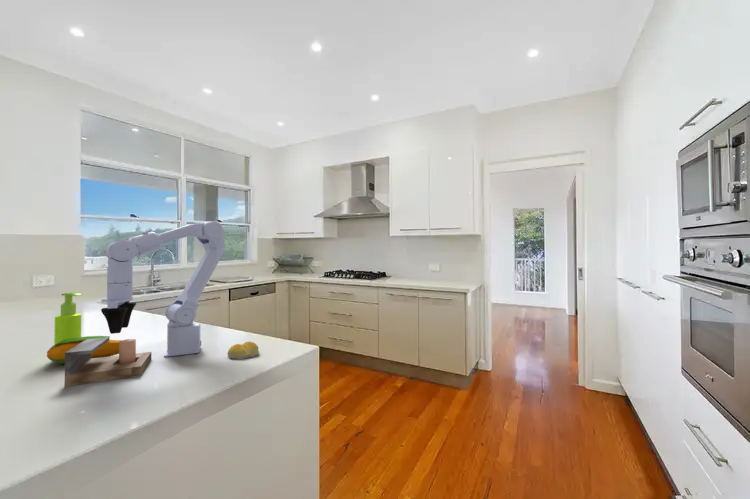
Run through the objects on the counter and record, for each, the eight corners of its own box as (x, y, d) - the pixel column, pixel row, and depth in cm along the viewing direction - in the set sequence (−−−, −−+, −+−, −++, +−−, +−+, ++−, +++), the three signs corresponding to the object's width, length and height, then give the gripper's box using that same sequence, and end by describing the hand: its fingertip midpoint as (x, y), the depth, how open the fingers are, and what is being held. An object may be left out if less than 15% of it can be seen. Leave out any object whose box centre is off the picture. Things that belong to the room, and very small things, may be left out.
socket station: (151, 360, 95) (151, 333, 96) (140, 375, 83) (141, 344, 83) (86, 368, 89) (86, 339, 89) (64, 386, 76) (64, 352, 76)
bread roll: (225, 355, 101) (225, 342, 101) (254, 350, 106) (254, 338, 106) (231, 362, 94) (231, 348, 94) (262, 356, 99) (262, 343, 99)
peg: (137, 367, 90) (137, 338, 90) (132, 371, 86) (132, 341, 86) (122, 368, 88) (122, 339, 89) (116, 373, 85) (116, 342, 85)
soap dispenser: (68, 361, 94) (69, 294, 95) (48, 360, 95) (49, 293, 96) (88, 355, 100) (89, 291, 100) (70, 354, 101) (70, 291, 102)
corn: (54, 335, 95) (136, 328, 103) (54, 360, 95) (136, 352, 103) (41, 343, 88) (130, 335, 96) (41, 370, 88) (130, 360, 97)
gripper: (110, 281, 97) (109, 326, 96) (93, 285, 83) (92, 337, 83) (138, 280, 100) (138, 324, 99) (126, 284, 87) (125, 334, 86)
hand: (119, 330), depth 91 cm, fingers open, 7 cm apart
